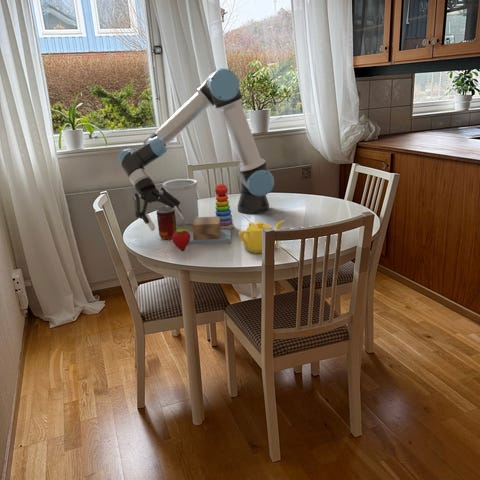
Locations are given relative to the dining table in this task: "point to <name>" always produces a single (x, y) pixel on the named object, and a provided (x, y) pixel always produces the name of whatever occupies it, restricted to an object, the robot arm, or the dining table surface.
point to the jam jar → (166, 222)
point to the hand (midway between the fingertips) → (168, 224)
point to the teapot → (255, 236)
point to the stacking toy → (223, 207)
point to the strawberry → (181, 238)
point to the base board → (224, 238)
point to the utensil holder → (184, 198)
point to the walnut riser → (206, 228)
